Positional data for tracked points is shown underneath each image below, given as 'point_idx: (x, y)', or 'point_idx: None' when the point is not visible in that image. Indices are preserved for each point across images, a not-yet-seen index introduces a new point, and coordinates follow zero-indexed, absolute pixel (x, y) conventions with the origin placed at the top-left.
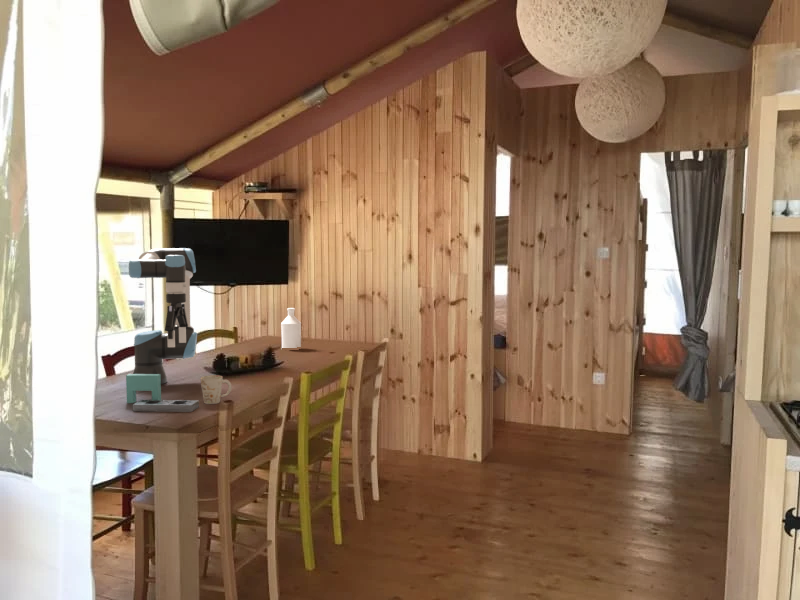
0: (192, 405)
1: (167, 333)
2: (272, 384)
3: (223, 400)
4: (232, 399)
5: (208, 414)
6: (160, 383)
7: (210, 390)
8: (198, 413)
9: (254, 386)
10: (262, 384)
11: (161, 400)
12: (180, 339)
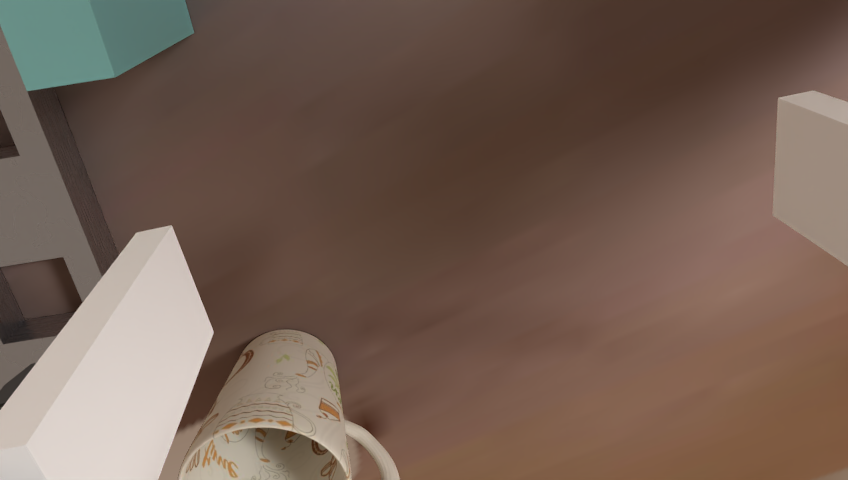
0: None
1: (7, 407)
2: (814, 463)
3: (355, 402)
4: (391, 434)
5: None
6: (144, 58)
7: (215, 450)
8: None
9: (759, 399)
10: (818, 416)
11: (29, 146)
12: (816, 146)
